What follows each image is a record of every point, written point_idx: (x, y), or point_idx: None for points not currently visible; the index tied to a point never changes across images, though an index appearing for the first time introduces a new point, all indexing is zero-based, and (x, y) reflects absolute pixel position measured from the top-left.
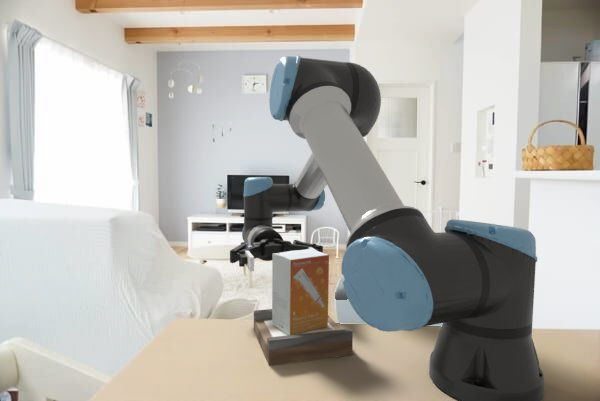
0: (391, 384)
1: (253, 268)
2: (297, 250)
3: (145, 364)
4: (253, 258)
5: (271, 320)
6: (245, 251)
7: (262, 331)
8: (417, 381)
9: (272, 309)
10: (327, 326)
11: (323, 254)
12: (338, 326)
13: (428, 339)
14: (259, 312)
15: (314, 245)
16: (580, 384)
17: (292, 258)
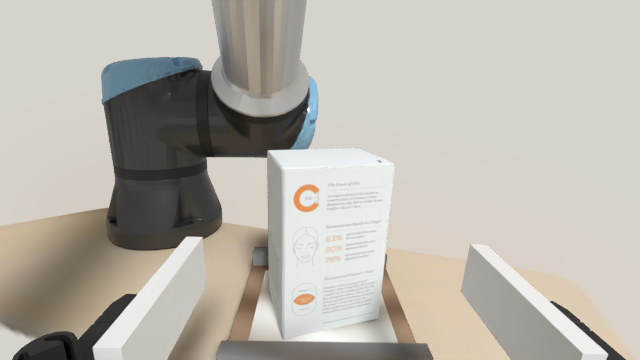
0: (255, 237)
1: (465, 283)
2: (325, 165)
3: (582, 321)
4: (471, 248)
5: (379, 340)
6: (591, 340)
7: (397, 309)
8: (227, 235)
9: (381, 287)
10: (268, 291)
11: (278, 151)
12: (244, 295)
13: (97, 288)
14: (414, 343)
15: (62, 340)
16: (100, 211)
17: (352, 149)
